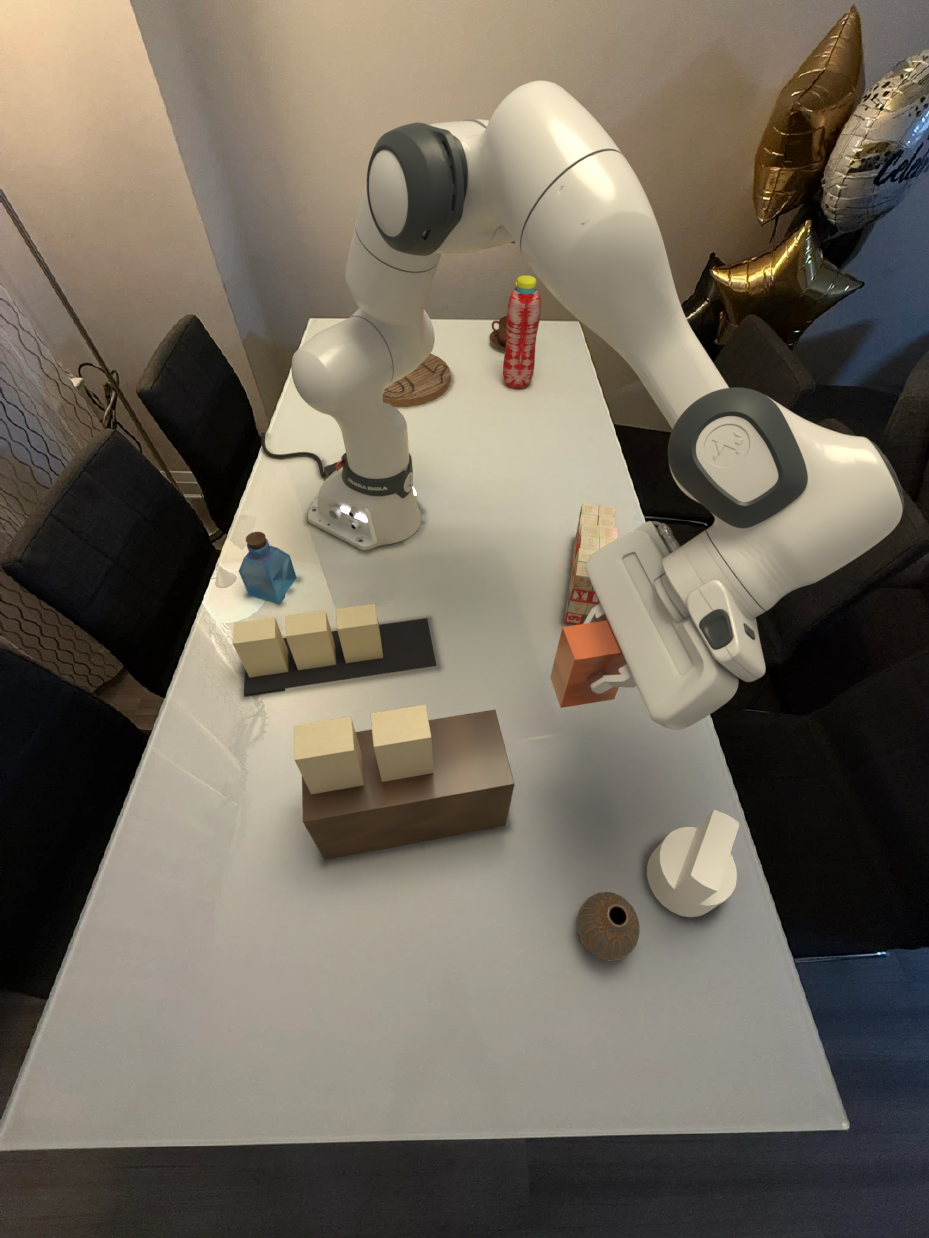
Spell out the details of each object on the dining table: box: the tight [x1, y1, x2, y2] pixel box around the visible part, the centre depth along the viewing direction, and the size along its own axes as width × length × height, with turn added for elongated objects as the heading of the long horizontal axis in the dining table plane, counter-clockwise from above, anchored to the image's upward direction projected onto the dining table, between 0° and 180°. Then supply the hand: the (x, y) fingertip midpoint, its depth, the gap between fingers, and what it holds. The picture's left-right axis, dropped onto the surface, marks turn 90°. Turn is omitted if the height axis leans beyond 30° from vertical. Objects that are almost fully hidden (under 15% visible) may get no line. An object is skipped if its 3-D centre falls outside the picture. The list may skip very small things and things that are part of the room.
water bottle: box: [502, 274, 542, 390], centre depth 140 cm, size 12×8×25 cm, turn 177°
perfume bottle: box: [238, 531, 298, 605], centre depth 99 cm, size 6×6×12 cm
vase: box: [576, 891, 641, 962], centre depth 66 cm, size 7×7×9 cm
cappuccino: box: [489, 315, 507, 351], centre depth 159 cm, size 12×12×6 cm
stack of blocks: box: [563, 502, 619, 625], centre depth 101 cm, size 21×6×12 cm, turn 169°
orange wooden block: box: [549, 620, 627, 709], centre depth 59 cm, size 6×4×9 cm, turn 101°
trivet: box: [382, 352, 451, 408], centre depth 148 cm, size 25×25×2 cm
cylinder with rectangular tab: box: [646, 809, 741, 918], centre depth 69 cm, size 9×9×12 cm
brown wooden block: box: [293, 704, 515, 861], centre depth 70 cm, size 24×10×23 cm, turn 101°
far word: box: [232, 603, 437, 697], centre depth 91 cm, size 30×10×10 cm, turn 101°
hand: (584, 664), depth 59 cm, fingers closed on orange wooden block, 4 cm apart
